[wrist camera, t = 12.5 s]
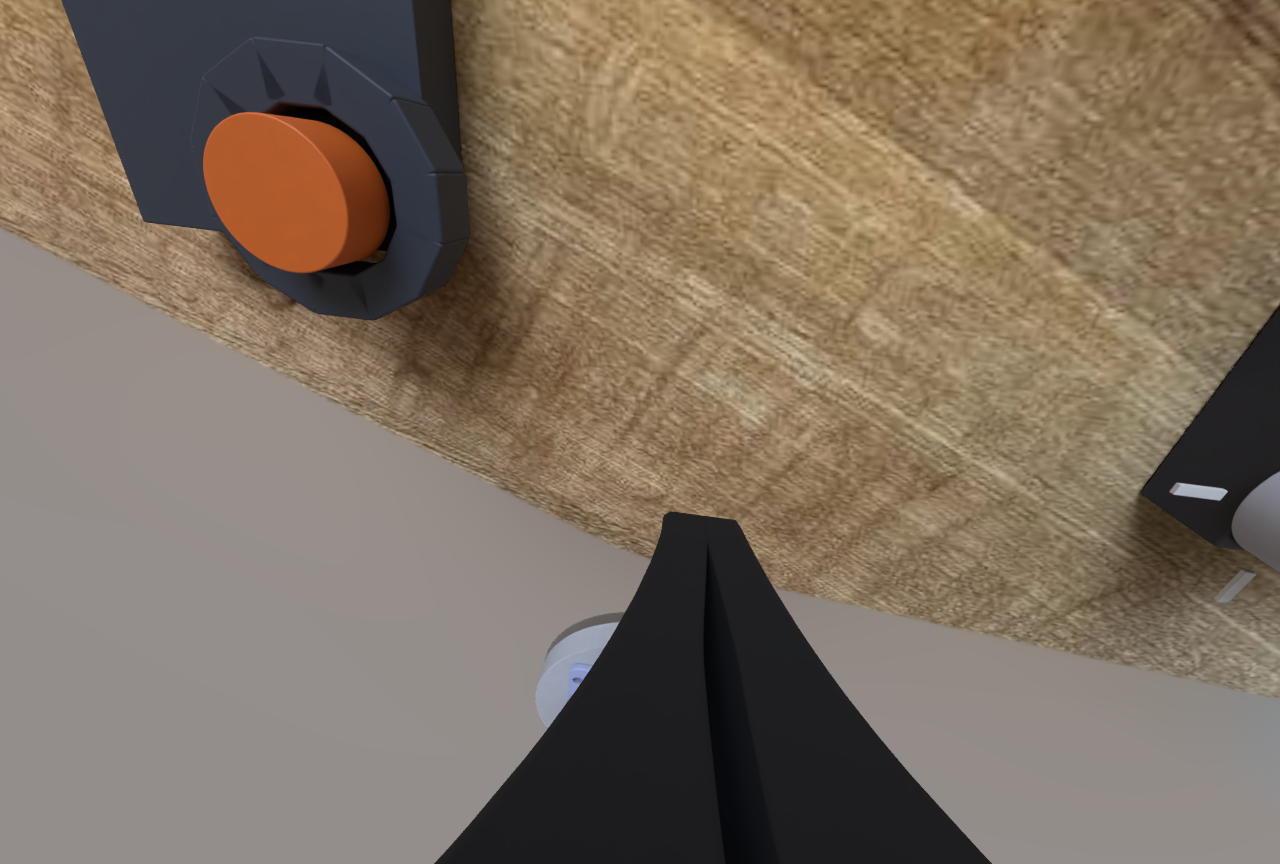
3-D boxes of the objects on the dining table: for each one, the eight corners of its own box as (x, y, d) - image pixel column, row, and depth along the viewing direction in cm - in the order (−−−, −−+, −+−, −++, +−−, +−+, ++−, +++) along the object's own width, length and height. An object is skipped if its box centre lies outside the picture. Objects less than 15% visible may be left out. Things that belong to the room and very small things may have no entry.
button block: (501, 297, 17) (451, 331, 13) (222, 264, 17) (101, 287, 13) (480, -203, 11) (385, -377, 8) (65, -241, 11) (-213, -427, 8)
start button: (399, 268, 13) (359, 281, 11) (283, 254, 13) (228, 265, 11) (380, 127, 11) (331, 120, 10) (248, 113, 11) (179, 103, 10)
